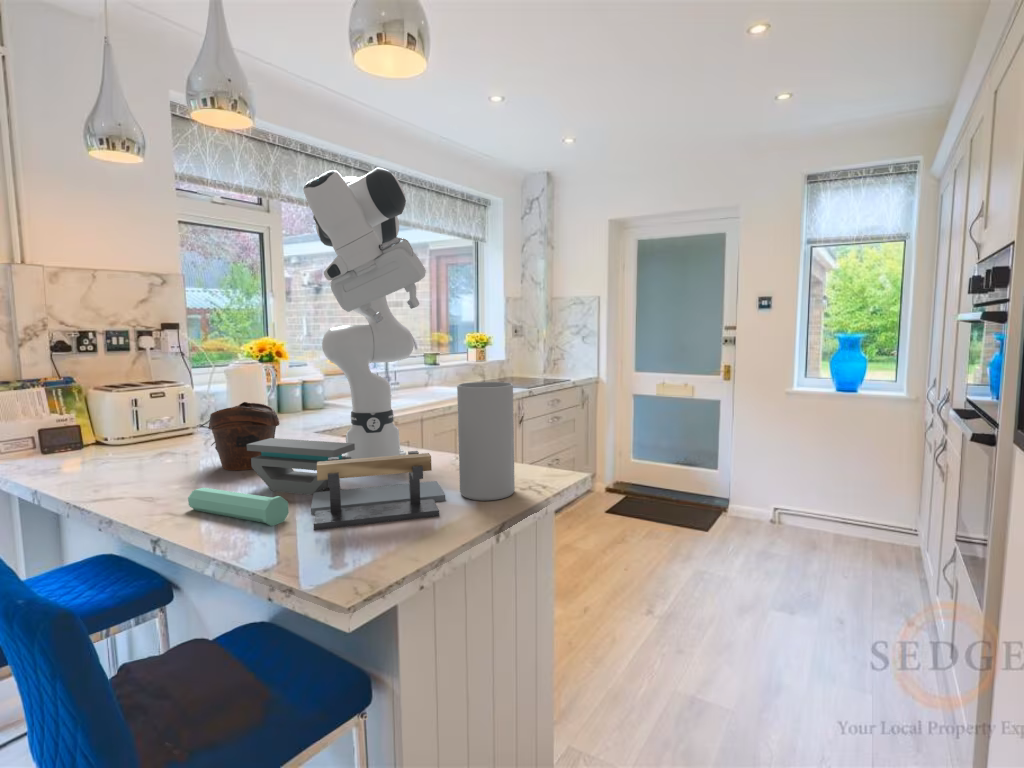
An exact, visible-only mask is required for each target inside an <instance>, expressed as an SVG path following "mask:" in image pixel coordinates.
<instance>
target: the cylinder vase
mask: <svg viewBox="0 0 1024 768" xmlns="http://www.w3.org/2000/svg"><path fill="white" fill-rule="evenodd" d="M456 390H457V391H456V393H457V395H456V397H457V430H458V431H457V433H458V434H457V435H458V462H459V463H458V469H459V493H460V495H461V496H463V497H464V498H466V499H469V500H471V501H472V500H473V501H485V502H486V501H488V502H489V501H498V500H502V499H505V498H509V497H510V496H512V495H513V493H514V492H515V491H516V490H515V487H516V486H515V434H514V433H515V428H514V426H515V424H514V422H515V421H514V384H513V383H510V382H504V381H503V382H502V381H479V382H478V381H477V382H476V381H475V382H465V383H464V382H463V383H459V384H457V385H456Z"/></svg>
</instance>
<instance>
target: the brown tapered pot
mask: <svg viewBox="0 0 1024 768" xmlns="http://www.w3.org/2000/svg"><path fill="white" fill-rule="evenodd" d="M277 426H280V419H279V417H278V414H277V412H276V411H275V409H274V408H273V407H271V406H270V405H267V404H265V403H257V402H247V401H244V402H242V403H239V404H238V405H235V406H231V407H226V408H223V409H218V410H216V411H214V412H212V413H210V416H209V423H208V429H210V430H211V432H212V435H213V439H214V442H213V443H211V445H210V446H211V447H212V446H213V445H215V447H214V448H215V450H216V452H217V454H218V457H219V460H220V463H221V467H222V469H224V470H227V471H245V470H252V469H253V468H252V465H251V458H253V457H257V456H260V455H261V452H259V451H247V444H250V443H254V442H257V441H261V440H265V439H269V438H275V435H276V429H277ZM253 470H254V469H253Z"/></svg>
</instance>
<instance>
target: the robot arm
mask: <svg viewBox="0 0 1024 768" xmlns="http://www.w3.org/2000/svg"><path fill="white" fill-rule="evenodd" d="M302 190H303V194H304V196H305V198H306V199H305V200H306V201H307V204H308V205H309V208H310V210H311V213H312V214H313V215H312V216H313V221H314V222H315V229H316V230H315V231H316V233H317V236H318V238H319V240H320V242H321V243H322V244H323V245H324V246H327V247H332V249H333V250H334V252H335V254H336V255H337V256H336V257H335V258H334V259H333V261H331V263H330V264H329V265H328V266H327V267H326V269H325V270H324V271H323V276H324V278H325V279H326V280H327V281H331V282H330V288H331V293H332V294H333V296H334V297H335V299H336V301H337V303H338V304H339V306H340V307H341V309H342V310H344V311H345V312H349V313H350V312H351V311H353V312H355V313H358V314H360V315H362V316H363V317H364V318H365V319H366V320H367V322H368V324H346V325H340V326H339V325H338V326H335V327H331V328H329V329H327V330H326V332H325V333H324V335H323V338H322V340H321V341H322V342H321V347H322V352H323V354H324V355H325V357H326V358H327V359H328V360H329V361H330V362H331V363H333V364H334V365H335V366H337V367H338V368H339V369H340V370H341V371H342V372H343V374H344V375H345V378H346V379H347V381H348V384H349V390H350V396H351V397H350V399H351V406H352V407H351V408H352V411H351V412H350V423H351V427H349V429H348V431H346V434H345V443H355V450H353V451H350V452H347V453H344V454H342V456H346V457H351V459H359V458H371V457H384V456H397V455H407V452H406V451H405V450H403V449H402V448H401V443H400V429H399V428H398V427H397V425H395V424H394V409H392V395H391V393H392V392H391V390H392V389H391V385H390V382H389V381H388V380H387V379H386V378H384V377H383V376H382V375H381V376H380V375H378V374H376V373H373V372H372V371H371V369H370V364H373V363H374V364H375V363H377V364H378V363H395V362H397V361H398V362H399V361H402V360H406V359H409V357H410V356H411V355H412V353H413V350H414V346H415V345H414V344H415V343H414V342H415V341H414V337H413V335H412V332H411V331H410V329H409V328H408V327H406V326H405V325H403V324H402V323H401V322H399V320H398V319H397V318H396V317H395V316H394V315H393V313H392V311H391V309H390V307H389V304H388V301H387V296H389V295H390V294H392V293H395V292H398V291H400V290H402V289H404V290H405V292H406V293H409V300H407V301H406V303H407V304H408V305H409V308H410V309H414V308H417V307H419V306H420V302H419V299H418V298H417V285H416V283H418V282H420V281H421V280H423V279H424V278H425V277H426V273H427V272H426V271H427V270H426V268H425V266H424V265H423V263H422V261H421V260H420V258H419V257H418V255H417V254H416V253H415V251H414V249H413V247H412V245H411V243H410V241H409V240H408V239H406V238H404V237H399V236H398V235H399V230H400V221H399V218H398V216H400V215H402V214H403V212H404V211H405V210H404V209H405V207H406V204H407V203H406V202H407V200H406V194H405V191H404V188H403V186H402V185H401V182H400V181H399V180H398V178H397V176H396V175H394V174H393V173H392V172H391V170H387V169H386V168H385V169H384V168H383V167H376V168H373V170H370V171H369V172H367V174H365V175H363V176H360V177H357V176H355V175H354V176H352V175H351V176H350V175H348V176H344V177H343V176H342V174H340V173H339V171H337V170H334V169H331V170H328V171H325V172H322V173H320V174H319V175H317V176H314V177H313V178H312V179H310V180H308V181H307V182H306V183H305V184H304V185H303V188H302Z"/></svg>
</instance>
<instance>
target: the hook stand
mask: <svg viewBox="0 0 1024 768" xmlns="http://www.w3.org/2000/svg"><path fill="white" fill-rule="evenodd" d="M410 454H420V452H419V451H418V450H409V451H407V455H410ZM333 460H339V457H330V458H328V461H333ZM423 479H424V471H423V466H422V465H420V466H412V472H409V473H408V484H409V494H410V501H408V502H398V503H388V504H379V505H369V506H359V507H349V508H341V495H340V490H341V481H340V480H341V479H339V472H337V473H328V487H329V488H328V489H329V491H330V508H331V509H329V510H320V511H315V514H314V517H313V531H317V530H325V529H335V528H342V527H343V528H344V527H353V526H354V527H355V526H363V525H372V524H380V523H389V522H390V523H391V522H399V521H408V520H417V519H425V518H434V517H440V509H439V507H438V505H437V503H436V501H434V500H433V499H428V500H420V481H421V480H423Z"/></svg>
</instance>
